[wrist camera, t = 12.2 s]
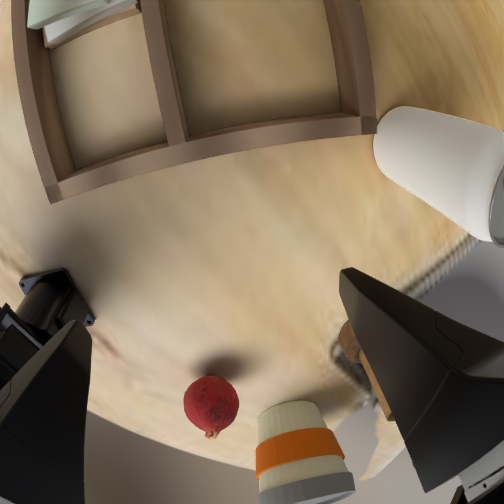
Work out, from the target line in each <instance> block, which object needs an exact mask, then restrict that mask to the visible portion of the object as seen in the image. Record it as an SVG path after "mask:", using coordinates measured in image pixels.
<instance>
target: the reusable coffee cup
mask: <svg viewBox="0 0 504 504" xmlns="http://www.w3.org/2000/svg"><path fill="white" fill-rule="evenodd" d="M258 436H259V445H258V447H257V448H256V478H257V479H258V480H259V490H260V491H259V494H258V496H257V497H258V501H259V504H331V503H334V502H337V501H339V500H342V499H344V498H347V497H349V496H350V495H352V494H354V493H355V492H356V491H355V485H354V480H353V475H352V473H350V472H349V471H348V470H347V467H346V465H345V463H344V461H343V460H344V458H345V456H344V454H343V452H342V450H341V448H340V446H339V444H338V442H337V440H336V438H335V436H334V434H333V432H332V431H331V430H330V429H328V428H327V426H326V424H325V422H324V420H323V418H322V416H321V414H320V412H319V410H318V408H317V406H316V405H315V404H314V403H312V402H309V401H291V402H286V403H282V404H279V405H276V406H273V407H271V408H269V409H267V410H266V411H264V412H263V413H262V414H261V415H260V416H259V419H258Z"/></svg>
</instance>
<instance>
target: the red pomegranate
mask: <svg viewBox="0 0 504 504" xmlns="http://www.w3.org/2000/svg"><path fill="white" fill-rule="evenodd" d="M238 408H239V399H238V396H237V393H236V391H235V389H234V388H233V386H232V385H231V384H230V383H229V382H227V381H226V380H224V379H222V378H220V377H216V376H212V375H208V376H205V377H202V378H200V379H198V380H197V381H195V382H193V383H192V384H191V385H190V386H189V388H188V389H187V390H186V392H185V395H184V411H185V413H186V416H187V417H188V419H189V420H190V421H191V422H192V423H193V424H194V425H195V426H197V427H198V428H199V429H201V430H203V431H205V432H206V434H205V437H207V438H208V439H210V440H212V439H216V437H217V436H218V434H219V432H220V431H221V430H223V429H225V428H226V427H228V426H229V425H230V424H231V423H232V422H233V421H234V419H235V417H236V415H237V412H238Z"/></svg>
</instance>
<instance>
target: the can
mask: <svg viewBox="0 0 504 504" xmlns="http://www.w3.org/2000/svg"><path fill="white" fill-rule="evenodd" d="M373 150H374V156H375V160H376V163H377V165H378V167H379V168H380V170H381V171H382V173H383V174H384V175H385V176H386V177H388V178H389V179H391V180H392V181H394V182H395V183H397V184H398V185H400V186H401V187H403V188H405V189H406V190H408V191H409V192H411V193H412V194H414V195H415V196H417V197H419V198H420V199H422V200H423V201H425V202H426V203H428V204H429V205H430V206H432V207H433V208H435V209H436V210H438V211H439V212H441V213H442V214H443V215H445V216H446V217H448V218H449V219H450V220H452V221H453V222H455V223H456V224H457V225H459V226H460V227H461V228H463V229H464V230H466V231H467V232H468V233H470V234H471V235H472V236H474V237H476V238H477V239H479V240H483V241H490V242H491V241H492V242H494V244H495V245H497V246H498V247H502V248H504V131H502V130H499V129H496V128H493V127H491V126H488V125H484V124H481V123H478V122H475V121H471V120H468V119H464V118H460V117H457V116H453V115H449V114H445V113H440V112H436V111H431V110H426V109H421V108H416V107H410V106H401V107H397V108H394V109H392V110H390V111H389V112H388V113H386V114H385V115H384V117H383V118H382V119H381V121H380V122H379V124H378V126H377V134H375V135H374V141H373Z"/></svg>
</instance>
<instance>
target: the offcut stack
mask: <svg viewBox="0 0 504 504" xmlns="http://www.w3.org/2000/svg"><path fill="white" fill-rule="evenodd" d="M138 13H141V11H140V4H139V0H30V3H29V12H28V23H27V27H28V28H32V29H37V30H38V29H40V28H42V27H43V36H44V45H45V47H46V48H51V49H55V48H57V47H59V46H61V45H63V44H65V43H67V42H69V41H71V40H73V39H75V38H77V37H79V36H81V35H83V34H86V33H88V32H90V31H93V30H95V29H97V28H100V27H102V26H105V25H107V24H110V23H112V22H115V21H118V20H121V19H123V18H126V17H129V16H132V15H135V14H138Z"/></svg>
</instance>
